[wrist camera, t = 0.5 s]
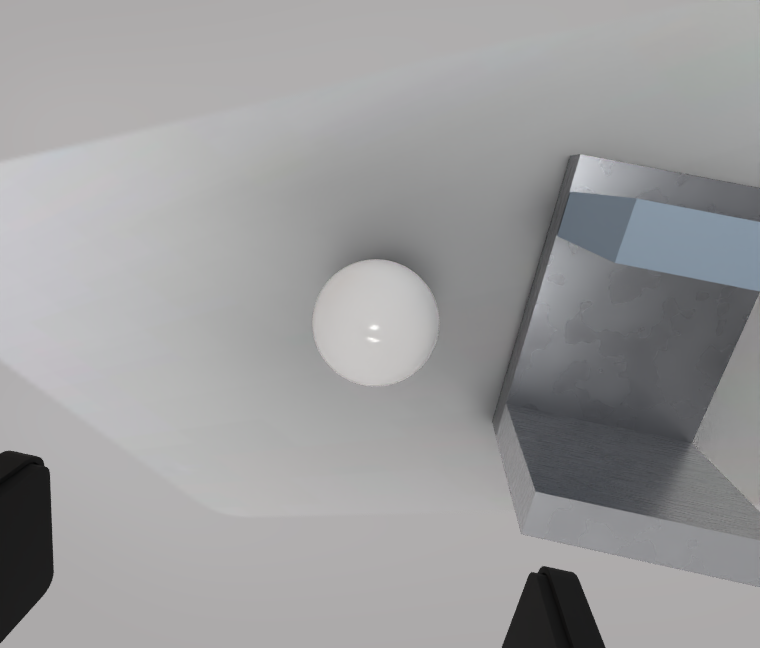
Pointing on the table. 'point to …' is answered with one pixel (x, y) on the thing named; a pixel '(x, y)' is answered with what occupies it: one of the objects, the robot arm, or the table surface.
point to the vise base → (627, 392)
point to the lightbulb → (375, 322)
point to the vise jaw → (665, 238)
